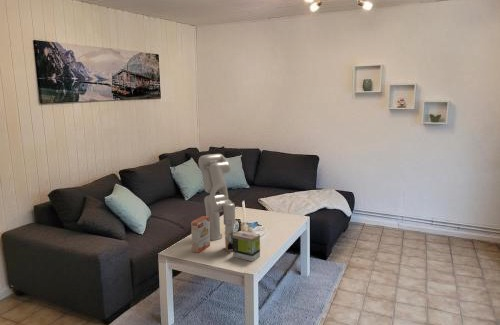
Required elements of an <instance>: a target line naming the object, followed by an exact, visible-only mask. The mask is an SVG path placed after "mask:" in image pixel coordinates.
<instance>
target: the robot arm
mask: <svg viewBox="0 0 500 325" xmlns="http://www.w3.org/2000/svg"><path fill="white" fill-rule="evenodd" d="M197 164H198V166H199V170H200V173H201V175H202V181H203V188H204V192H206V193H208V195H206V196H205V197H204V198H203V199H204V200H203V201H204V207H205V216H207V217H210V241H218V240H221V239H222V238H223V234H222V233H221V226H220V225H221V220H220V213H221V212H223V225H225V226H224V227H225V228H224V229H225V230H224V234H225V235H224V236H225V237H226V240H228V250H230V249H233V243H232V235H234V225H235V224H236V205H235V203H234V202H232V200H231V199H229V192H228V186H227V183H226V179H225V175H224V174H230V172H231V165H230V163H229V161H228V160H227V158H226V157H225V156H224V155H223V154H222V153H213V154H211V153H210V154H209V153H208V154H204V155H201V156H200V157H199V158H198V163H197ZM218 192H219V193H218ZM225 237H224V238H225ZM228 238H229V239H228Z"/></svg>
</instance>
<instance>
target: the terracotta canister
mask: <svg viewBox="0 0 500 325" xmlns="http://www.w3.org/2000/svg"><path fill="white" fill-rule="evenodd" d="M224 239H225V240H224V241H225V243H224V245H225V246H224V247H225V251H226V253H227V252H228V253H233V249H230V250H228V240H226V237H224ZM228 239H229V238H228Z"/></svg>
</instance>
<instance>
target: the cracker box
mask: <svg viewBox="0 0 500 325" xmlns="http://www.w3.org/2000/svg"><path fill="white" fill-rule="evenodd" d="M190 226H191V228H190V229H191V252H192V253H197V254H200V253H201V252H202V251H205V250H206V249H207V248H208V247H210V246H211V240H210V217H207V216H206V215H201V216H200V217H198V218H196V219H194V220H193V221H191V222H190Z"/></svg>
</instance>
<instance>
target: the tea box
mask: <svg viewBox="0 0 500 325" xmlns="http://www.w3.org/2000/svg"><path fill="white" fill-rule="evenodd" d="M260 238H261V235H260V234H259V233H254V232H249V231H244V230H239V231H238V232H236V233H233V235H232V243H233V252H232V257H234V258H238V259H242V260H245V261H249V262H254V261H255V260H257V259H258V258H259V257H260V256H261V239H260Z"/></svg>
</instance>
